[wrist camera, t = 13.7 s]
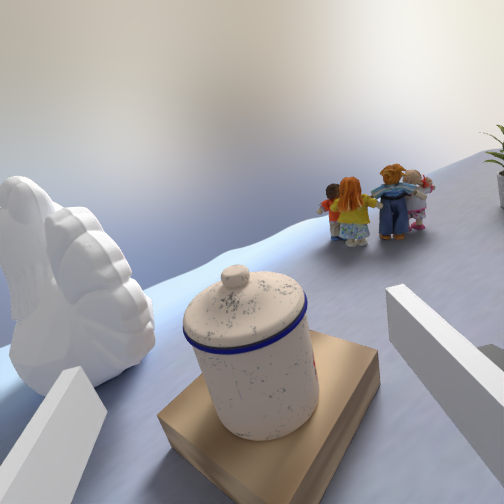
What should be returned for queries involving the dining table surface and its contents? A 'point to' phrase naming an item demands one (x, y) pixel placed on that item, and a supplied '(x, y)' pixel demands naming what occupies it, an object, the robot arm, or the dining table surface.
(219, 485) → the oak slab
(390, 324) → the robot arm
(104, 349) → the decorative rooster
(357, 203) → the doll family
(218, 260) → the dining table surface
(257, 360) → the teacup with lid
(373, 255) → the dining table surface
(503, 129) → the house plant
